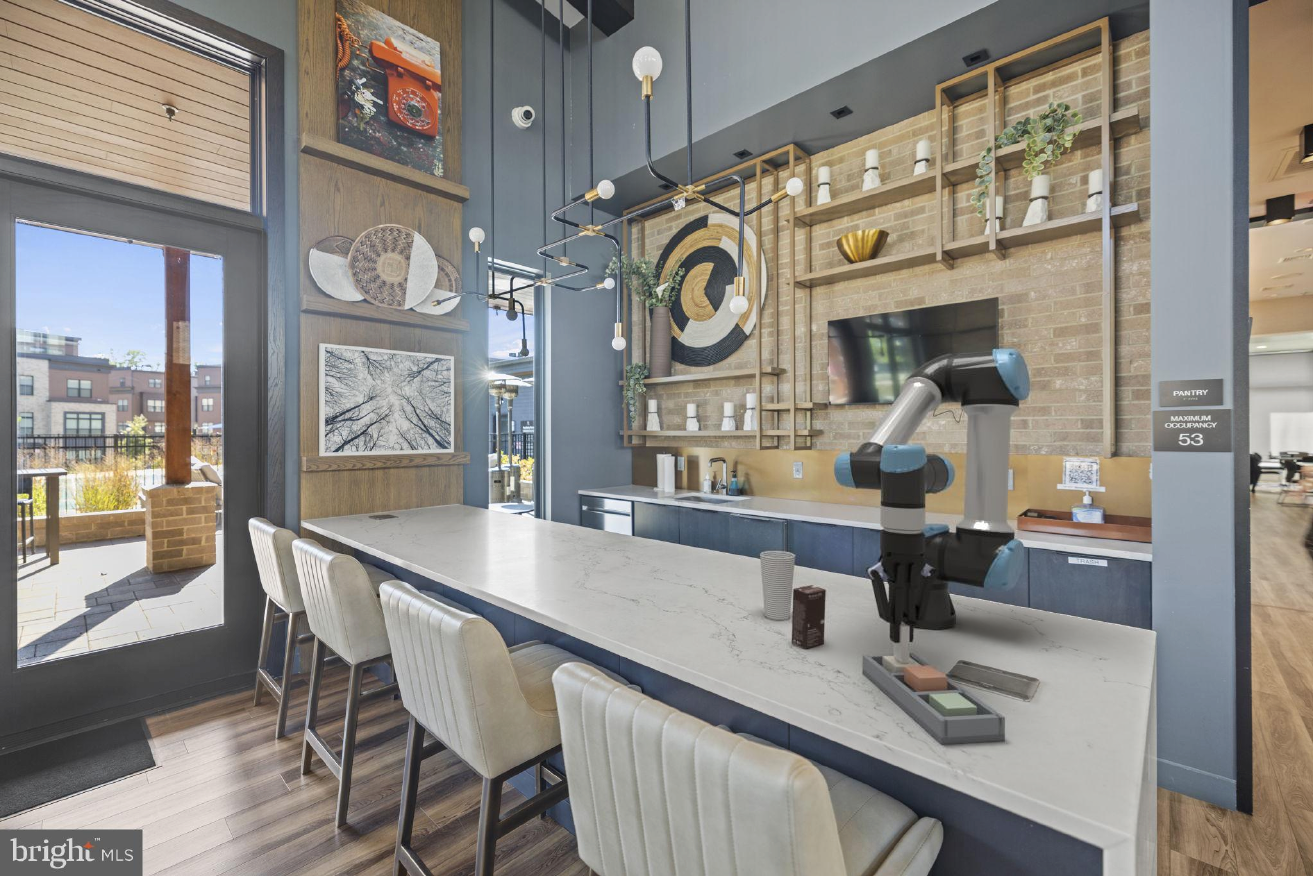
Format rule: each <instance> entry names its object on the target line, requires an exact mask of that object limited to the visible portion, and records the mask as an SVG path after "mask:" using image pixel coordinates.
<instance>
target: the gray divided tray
mask: <svg viewBox="0 0 1313 876" xmlns="http://www.w3.org/2000/svg"><path fill="white" fill-rule="evenodd" d="M883 656H894V653H882V654H879V653H878V654H862V674H863V675H864V676H865V677H866V678H867V679H868V680H869V681H871V682H872V684H874V685H875V686H876V687H877V688H878V690H880V691H881V692H882V693H884V694H885V696H887V697H888V698H889V699H890V700H891V701H892V702H893V703H895V704H896V705H897V706H898V707H899V708H900V709H901V710H902V711H903V712H905V714H907V715H908V716H909V717H910V718H911V719H912V720H913V721H915V723H917V724H918V725H919V726H920V727H921V728H923V730H925V731H926V732H927V733H928V734H929V735H930V736H931V737H932V738H933V739H934V740H936V741H937V742H938V743H939V744H940V745H951V744H953V745H954V744H955V745H956V744H968V743H969V744H973V743H987V742H989V743H990V742H1005V741H1006V731H1005V730H1006V728H1005V727H1006V717H1005V716H1004V715H1003V714H1002V713H1000V712H999V711H997V710H995V709H994V708H992V707H991V706H990V705H988V704H987V703H986V702H984V701H983V700H981V699H980V698H978V697H976V696H975V695H974V694H972V693H971V692H970V691H968V690H967V689H965V688H964V687H962V686H961V685H959V684H958V683H957V682H955V681H954V680H952V679H951V678H950V677H948V676H946V677H947V690H944V691H924V692H917V691H916V690H915V689H913V688H912V687H911V686H910V685H908V684H907V683H906V682H905V681H904V672H898V673H889V672H888V671H887V670H886V669H884V668H883V667H882V663H883ZM909 657H910V658H911V659H913V660H914V661H916V662H917V663H918V664H920V665H921V666H928V665H930V664H929V663H928V662H926V661H925V660H923V659H922V658H920V657H919V656H918V655H916V654H915V653H914V652H909ZM932 667H933V666H932ZM933 668H935V667H933ZM946 693H958V694H959V695H961V696H962V697H964V698H965V699H966V700H968V701H969V702H971V703H972V704H973V705H975V706H976V707H977V715H970V716H951V717H943V716H942V715H941V714H939V713H938V712H937V711H936V710H935V709H933V708H932V707H931V706H930V705H929V694H946Z"/></svg>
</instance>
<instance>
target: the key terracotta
mask: <svg viewBox="0 0 1313 876" xmlns="http://www.w3.org/2000/svg"><path fill="white" fill-rule="evenodd" d="M947 677H948V676H947V675H945V674H944V673H942V672H940V671H939V670H938V669H936V668H935V667H934V668H933V666H932V665H931V664H929V665H928V666H904V681H905V682H906V683H907V684H908V685H910V686H911V687H912V688H913V689H915V690H916V691H917V692H924V691H944V690H947Z"/></svg>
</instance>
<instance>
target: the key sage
mask: <svg viewBox="0 0 1313 876" xmlns="http://www.w3.org/2000/svg"><path fill="white" fill-rule="evenodd" d="M929 705H930V706H931V707H932V708H933V709H935V710H936V711H937V712H938V713H939V714H941V715H942V716H943V717H951V716H970V715H977V707H976V706H975V705H973V704H972V703H971V702H969V701H968V700H966V699H965V698H964V697H962V696H961V695H959V694H958V693H946V694H929Z"/></svg>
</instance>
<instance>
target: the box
mask: <svg viewBox="0 0 1313 876" xmlns="http://www.w3.org/2000/svg"><path fill="white" fill-rule="evenodd" d="M826 592H827V590H826V589H825V588H822V587H819V586H817V585H816V586H815V585H813V584H811V585H806V586H800V587H795V588H792V621H791V622H792V623H791V644H792V645H794V646H796V647H798V648H802V649H810V648H813V647H817V646H820V645H824V644H825V620H826V618H825V617H826V616H825V615H826V598H827V597H826V594H827V593H826Z"/></svg>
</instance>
